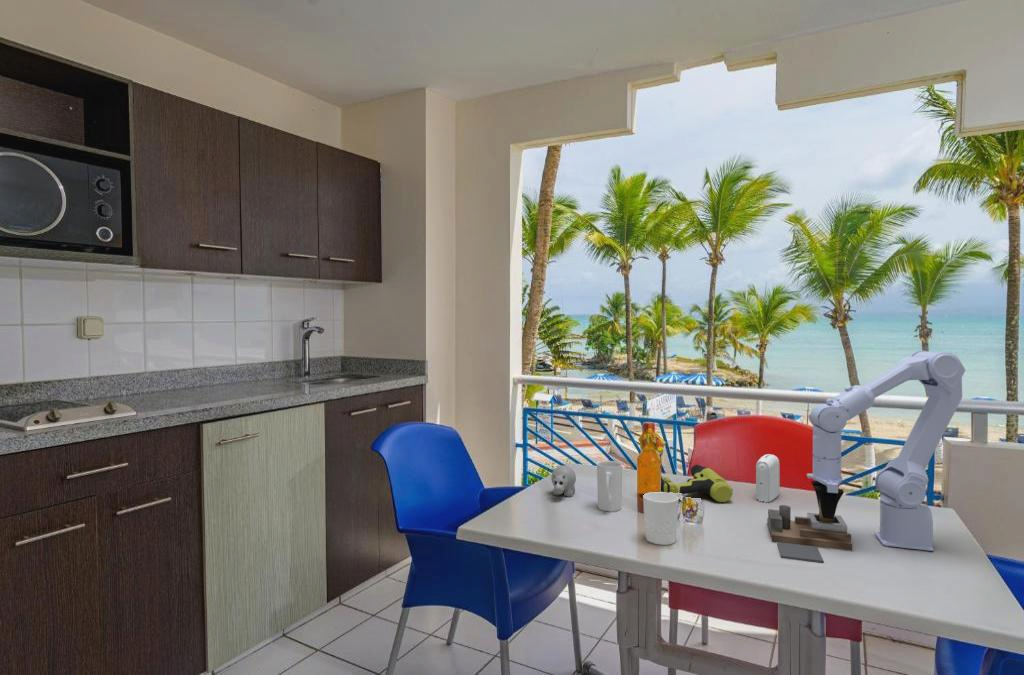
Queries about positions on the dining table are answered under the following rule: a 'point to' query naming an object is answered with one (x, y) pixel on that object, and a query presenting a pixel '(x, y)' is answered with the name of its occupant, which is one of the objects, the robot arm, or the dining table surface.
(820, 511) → the wooden square peg
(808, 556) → the pad
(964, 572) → the dining table surface
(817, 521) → the grey square frame
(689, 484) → the cordless drill
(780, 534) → the chuck base
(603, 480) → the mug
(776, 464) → the photo printer
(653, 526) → the white cup
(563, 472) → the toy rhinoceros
